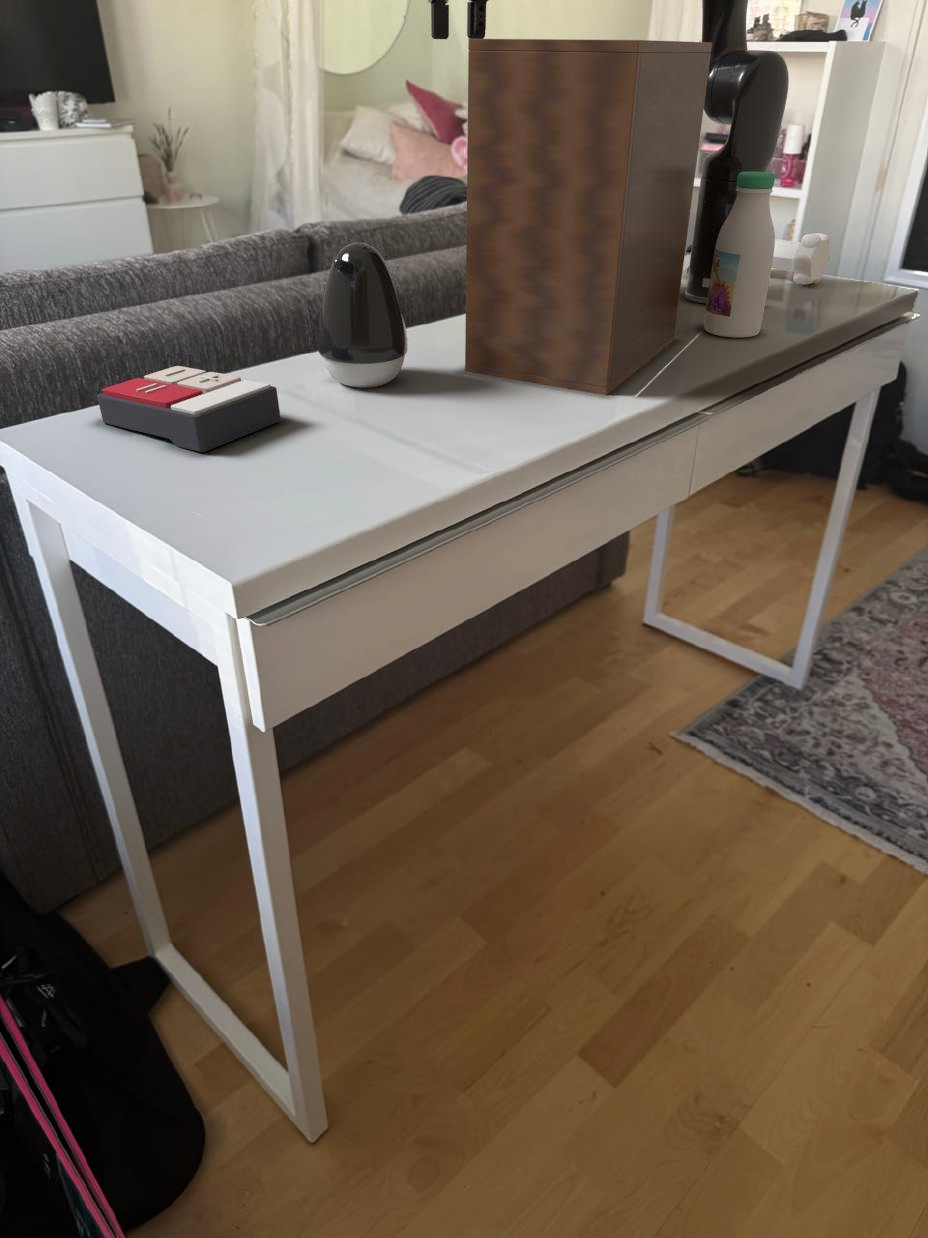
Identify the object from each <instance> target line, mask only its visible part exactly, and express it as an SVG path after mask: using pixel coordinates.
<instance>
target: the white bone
mask: <svg viewBox="0 0 928 1238" xmlns="http://www.w3.org/2000/svg"><path fill="white" fill-rule="evenodd" d="M830 242H831V237H830V236H829V235H827V233H826V234H825V233H822V232H820V233H819V232H818V233H817V232H816V233H807V234H805V235H803V236H802V237H801V239H800V241H794V240H787V239H780V238H779V239H778V238H775V248H774V255H773V262H772V268H771V269H775V270H782V271H789V272H792V273H793V277H792V279H793V281H794V283H796V284H799V285H805V286H806V285H810V284H817V283H819V282H820V281H821V280H822V278H823V274H824V272H825V269H826V266H827V264H828V263H829V261H830V260H831V255H830Z"/></svg>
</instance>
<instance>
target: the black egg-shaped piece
mask: <svg viewBox="0 0 928 1238" xmlns="http://www.w3.org/2000/svg"><path fill="white" fill-rule="evenodd" d="M397 289H398V288H397V286H396V283H395V280H394V278H393V276H392V273H391V270H390V268H389V266H388V264H387V262H386V261H385V258H384V257H383V256H382V254H381V253H380V252H379V250H378V249H376V248H375V247H374V246H372V245H370V244H368V243H366V242H365V243H364V242H352V243H350V244H347V245H345V246H344V247H343V248H341V249H340V250H339V251H338V253H337V254H336V256H335V258H334V260H333V262H332V264H331V266H330V269H329V272H328V275H327V278H326V281H325V287H324V290H323V294H322V299H321V305H320V312H319V320H318V333H317V348H318V354H319V356H321V358H322V361H323V364H324V367H325V369H326V370H327V372H328V373H329V375H330V376H331V377H332V378H333V379H334V380H336V381H337V382H338V383H340V384H343V385H345V386H347V387H351V388H358V389H367V388H368V389H370V388H376V387H377V388H378V387H381V386H384V385H386V384H388V383H389V382H391V381H393V380H394V379H395V378H396V377H397V376H398V374H399V373H400V371H401V370H402V367H403V365H404V361H405V356H406V354H407V353H408V351H409V344H408V343H409V342H408V340H409V339H408V332H407V327H406V321H405V315H404V311H403V308H402V304H401V299H400V296H399V293H398V290H397Z"/></svg>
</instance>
